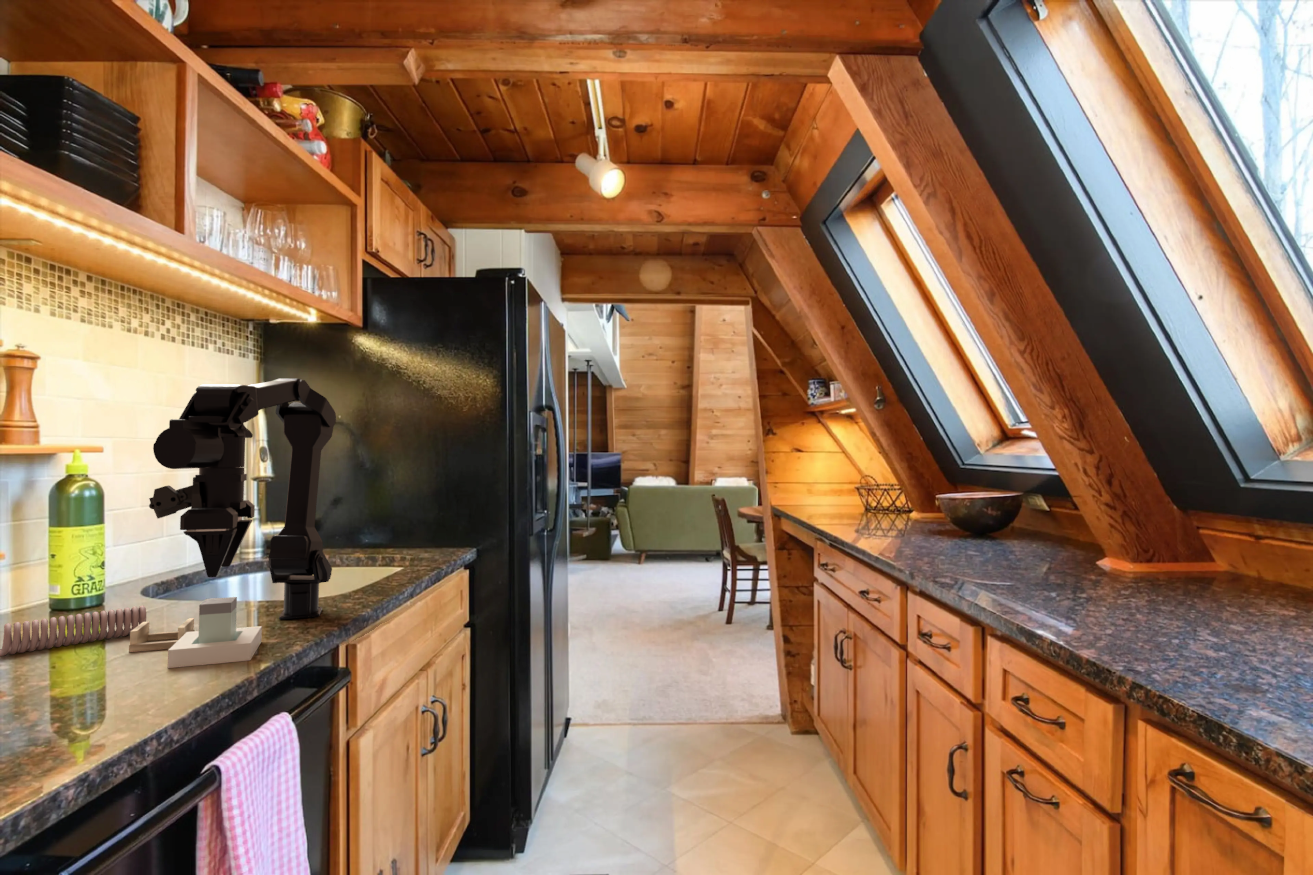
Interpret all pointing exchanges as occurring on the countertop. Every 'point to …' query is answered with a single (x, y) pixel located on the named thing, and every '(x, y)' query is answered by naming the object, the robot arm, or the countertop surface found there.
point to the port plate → (214, 649)
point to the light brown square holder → (156, 637)
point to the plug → (217, 620)
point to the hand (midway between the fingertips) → (219, 571)
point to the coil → (71, 630)
